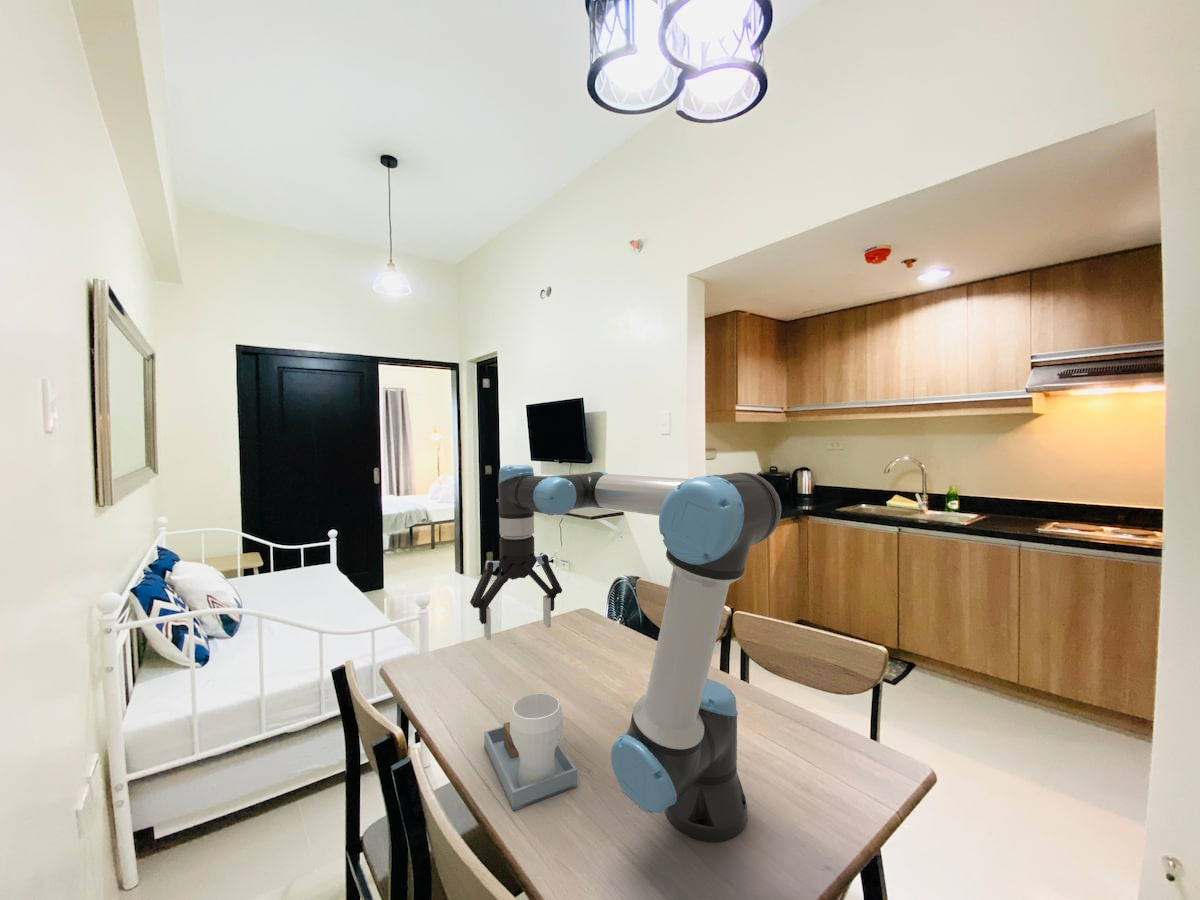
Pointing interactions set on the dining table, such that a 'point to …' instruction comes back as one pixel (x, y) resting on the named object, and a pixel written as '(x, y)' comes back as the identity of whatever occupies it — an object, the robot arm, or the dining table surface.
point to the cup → (536, 735)
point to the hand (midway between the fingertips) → (518, 631)
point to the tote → (510, 769)
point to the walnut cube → (509, 742)
